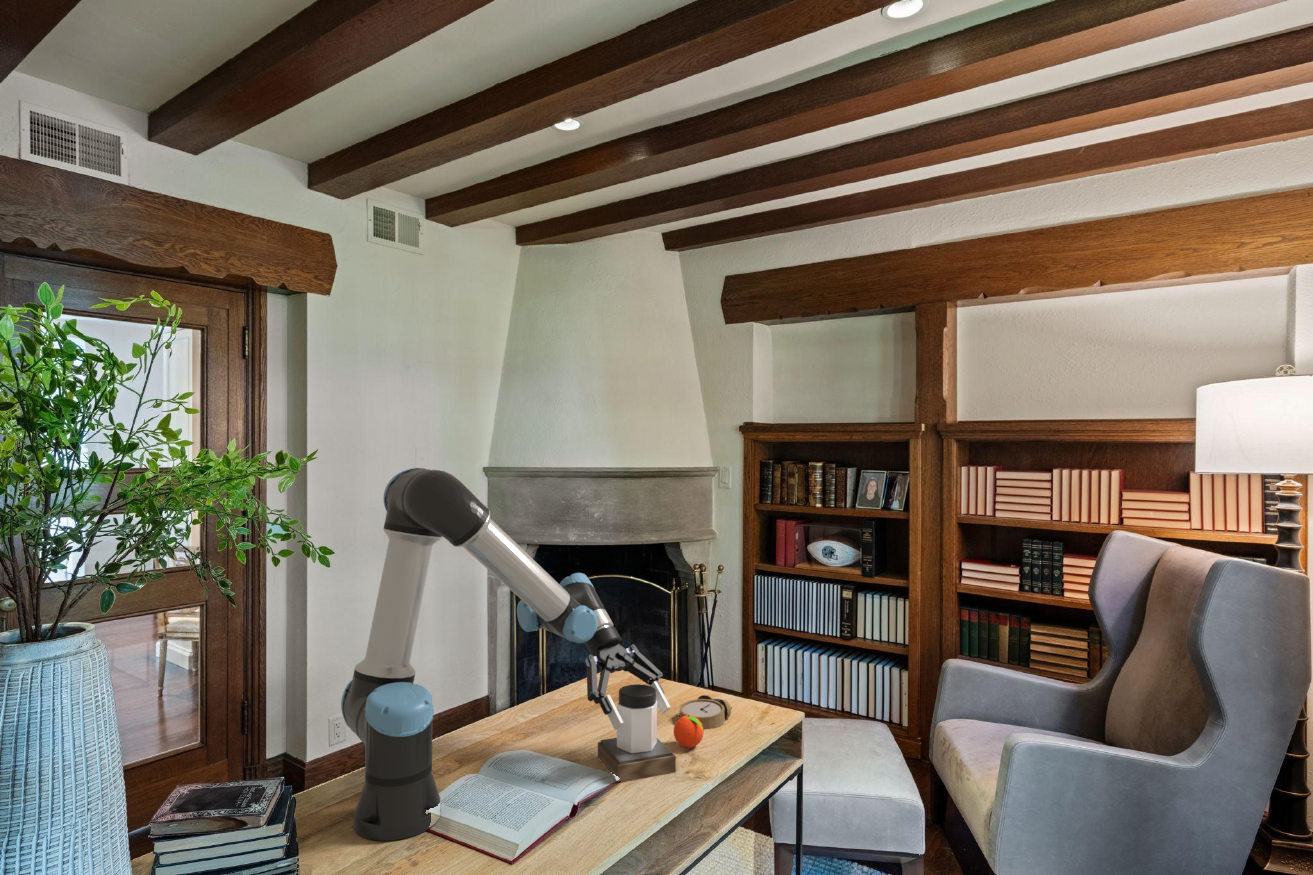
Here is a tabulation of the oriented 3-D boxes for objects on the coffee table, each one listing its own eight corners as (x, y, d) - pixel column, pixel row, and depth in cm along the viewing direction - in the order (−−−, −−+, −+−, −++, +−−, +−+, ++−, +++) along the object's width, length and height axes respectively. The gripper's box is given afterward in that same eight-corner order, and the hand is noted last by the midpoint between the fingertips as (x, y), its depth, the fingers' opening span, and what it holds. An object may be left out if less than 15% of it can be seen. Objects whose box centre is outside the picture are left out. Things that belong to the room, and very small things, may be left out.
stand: (618, 782, 151) (618, 763, 151) (597, 757, 163) (597, 739, 163) (675, 772, 156) (675, 753, 156) (651, 748, 168) (651, 730, 168)
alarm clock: (670, 711, 185) (704, 685, 196) (671, 729, 185) (706, 703, 197) (706, 722, 178) (740, 695, 189) (708, 741, 178) (742, 713, 190)
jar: (651, 736, 165) (652, 682, 165) (661, 750, 158) (662, 694, 158) (612, 740, 163) (613, 685, 163) (621, 755, 155) (621, 698, 155)
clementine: (713, 747, 169) (713, 716, 169) (693, 756, 164) (693, 724, 164) (687, 737, 175) (687, 707, 175) (667, 746, 170) (667, 715, 170)
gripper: (632, 634, 180) (675, 712, 169) (548, 653, 163) (589, 742, 152) (647, 616, 176) (692, 695, 165) (562, 634, 159) (606, 723, 148)
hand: (643, 718), depth 158 cm, fingers open, 13 cm apart
